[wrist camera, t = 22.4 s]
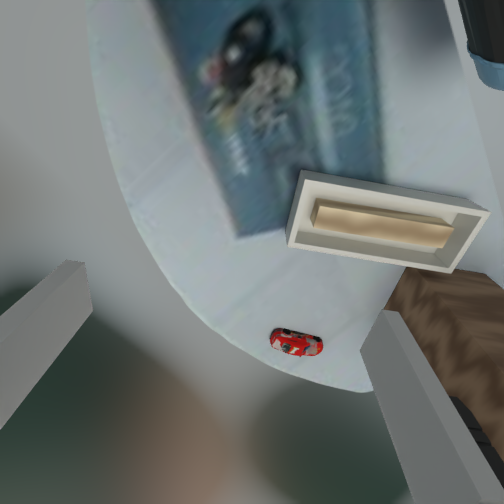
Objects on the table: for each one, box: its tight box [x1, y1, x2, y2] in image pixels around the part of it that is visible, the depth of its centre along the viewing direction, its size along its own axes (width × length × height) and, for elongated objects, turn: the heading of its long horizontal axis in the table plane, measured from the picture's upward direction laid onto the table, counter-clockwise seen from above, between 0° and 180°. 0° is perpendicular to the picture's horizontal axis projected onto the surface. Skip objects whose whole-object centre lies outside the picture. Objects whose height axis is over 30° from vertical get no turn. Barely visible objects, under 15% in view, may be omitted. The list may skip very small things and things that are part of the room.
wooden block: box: [383, 267, 504, 462], centre depth 45 cm, size 18×16×37 cm
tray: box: [285, 169, 491, 274], centre depth 48 cm, size 12×30×6 cm, turn 81°
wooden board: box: [310, 198, 454, 248], centre depth 48 cm, size 4×23×4 cm, turn 81°
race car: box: [270, 329, 323, 357], centre depth 67 cm, size 13×5×4 cm, turn 72°
